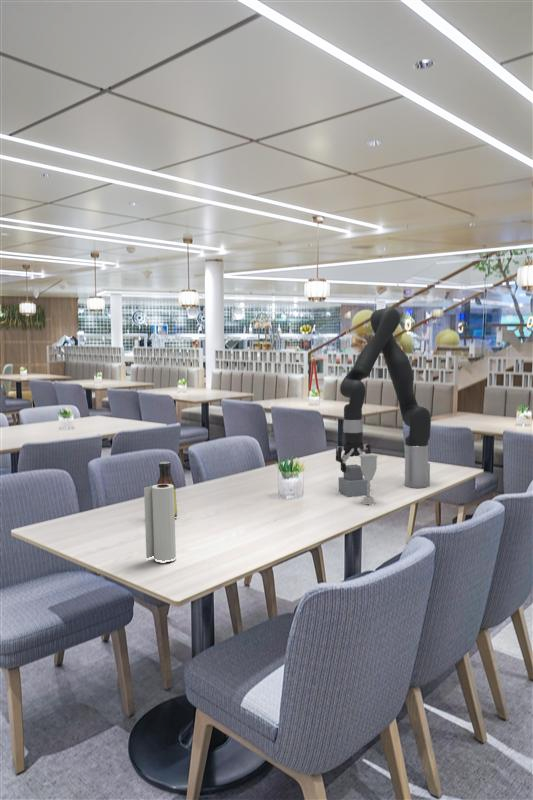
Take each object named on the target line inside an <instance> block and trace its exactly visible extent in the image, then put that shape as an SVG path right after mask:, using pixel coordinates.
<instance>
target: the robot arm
mask: <svg viewBox="0 0 533 800" xmlns="http://www.w3.org/2000/svg"><path fill="white" fill-rule="evenodd" d="M400 322H401V315H400V313H399V311H398V310H397V309H396V308H394V307H386V308H380V309H375V310H374V311H373V312H371V315H370V325H371V329H372V331H373V333H374V335H373V336H372V338H371V339H370V340H369V342H367V344H366V345H365V346H364V347H363V348H362V350H361V351H360V353H359V355H358V356H357V358H356V361H355V362H354V364H353V367H352V368H351V370H350V371H349V372H348V373H347V374H346V375H345V376H344V378H343V379H342V381H341V384H340V386H339V389H340V390H339V391H340V394H341V395H342V396H343V397H344V398H349V402H348V404H345V405H344V407H343V425H342V426H343V427H342V428H343V430H342V431H343V446H339V445H336V449H335V461H336V462H338V463H340V471H341V472H342V473H343V474H344V473H345V472H346V462H347V461H348V459H349V458H350V457H351V458H353V457H359V458H360V456H359V455H361V454H372V452H371V444H369V443H365V444H363V442H364V437H363V436H364V432H363V431H364V425H363V410H362V409H363V406H364V402H365V398H366V386H365V384H364V383H363V381H362V380H364V379H367V378H368V377H370V374H371V372H372V371H373V368H374V366H375V364H376V361H377V360H378V358H379V356H380V354H381V353H382V355H383V359H384V361H385V364H386V367H387V372H388V373H389V377H390V379H391V382H392V385H393V389H394V392H395V394H396V397H397V401H398V405H399V409H400V414H401V419H402V421H403V423H404V425H406V426H407V427H409V433H408V436H406V437H405V438H404V439H405V440H404V486H405V487H408V488H414V489H422V488H427V487H430V486H431V485H430V483H431V480H430V478H431V464H430V463H429V441H430V437H431V427H432V425H431V424H432V417H431V413H430V411H429V409H427V408H426V407H424V406H421V405H419V404H418V402H417V399H416V396H415V393H414V371H413V369H412V364H411V361H410V360H409V359H410V358H409V357H408V355H407V354H406V352H405V351H404V350H403V348H401V346H400V345H399V344H398V342H397V341H396V340H395V337H394V333H395V331H396V329H398V327H399V325H400ZM363 450H364V452H363ZM343 451H344V452H343ZM342 452H343V453H342Z"/></svg>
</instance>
